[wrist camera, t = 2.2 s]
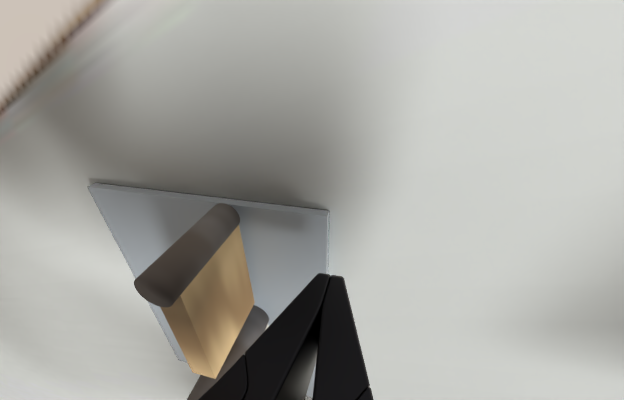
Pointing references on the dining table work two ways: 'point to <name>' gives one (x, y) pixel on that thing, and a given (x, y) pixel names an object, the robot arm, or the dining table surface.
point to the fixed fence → (235, 349)
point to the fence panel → (203, 288)
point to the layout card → (254, 231)
